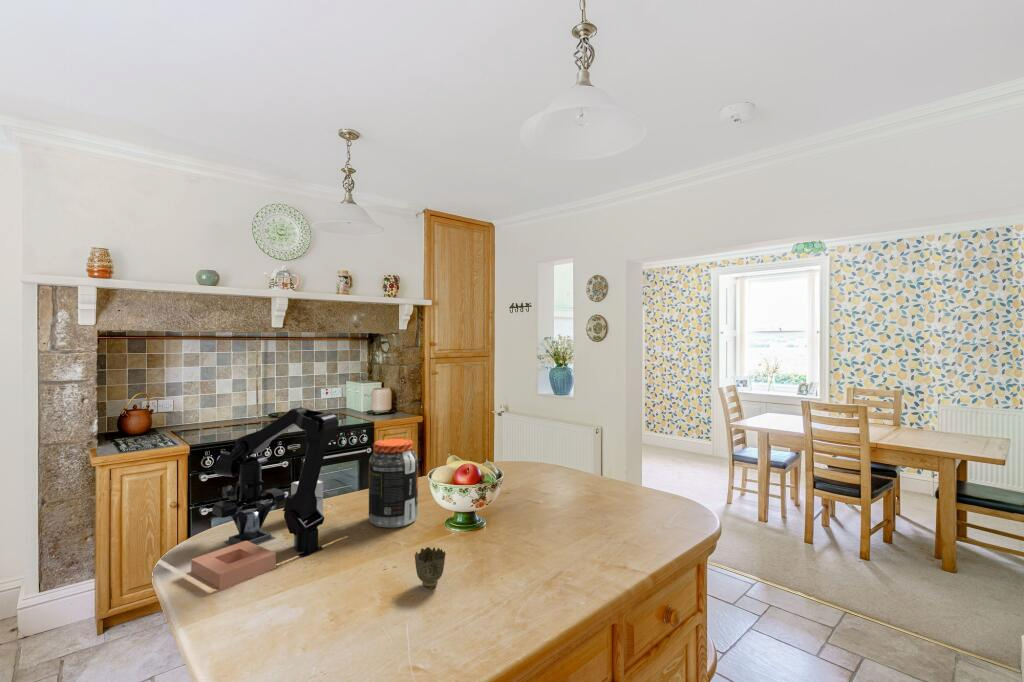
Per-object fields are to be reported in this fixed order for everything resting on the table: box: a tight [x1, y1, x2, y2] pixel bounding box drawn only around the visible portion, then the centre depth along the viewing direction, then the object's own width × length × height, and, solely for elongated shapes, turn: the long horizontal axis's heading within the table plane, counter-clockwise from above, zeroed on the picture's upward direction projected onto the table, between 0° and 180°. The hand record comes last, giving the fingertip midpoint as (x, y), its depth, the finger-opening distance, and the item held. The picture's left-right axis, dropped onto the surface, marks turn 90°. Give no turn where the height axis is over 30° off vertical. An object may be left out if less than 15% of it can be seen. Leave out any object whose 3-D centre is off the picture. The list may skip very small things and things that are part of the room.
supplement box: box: [290, 479, 324, 523], centre depth 164 cm, size 7×7×13 cm
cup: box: [414, 546, 447, 589], centre depth 122 cm, size 8×7×8 cm
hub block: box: [190, 540, 277, 592], centre depth 128 cm, size 14×14×4 cm
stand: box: [223, 529, 277, 546], centre depth 146 cm, size 10×10×2 cm
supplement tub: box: [368, 437, 419, 528], centre depth 164 cm, size 16×16×26 cm
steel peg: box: [240, 508, 261, 541], centre depth 146 cm, size 5×5×8 cm
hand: (250, 531), depth 146 cm, fingers closed on steel peg, 5 cm apart
